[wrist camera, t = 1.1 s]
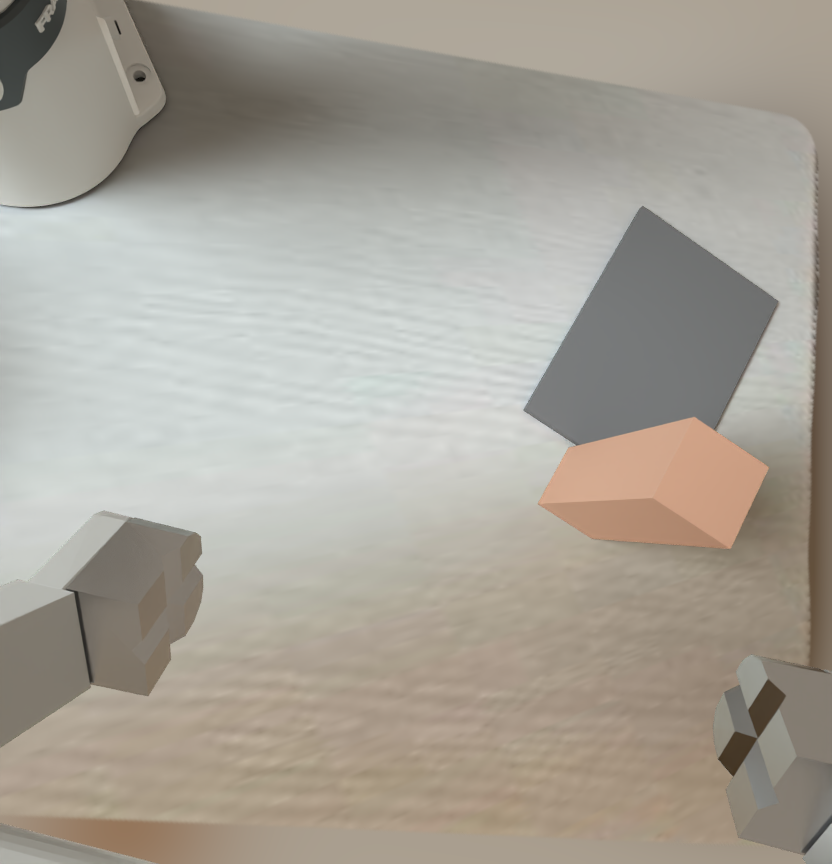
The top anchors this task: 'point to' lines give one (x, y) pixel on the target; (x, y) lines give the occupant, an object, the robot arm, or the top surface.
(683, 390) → the charcoal mat
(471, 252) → the top surface
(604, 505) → the terracotta block
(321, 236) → the top surface
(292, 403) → the top surface
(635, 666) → the top surface
